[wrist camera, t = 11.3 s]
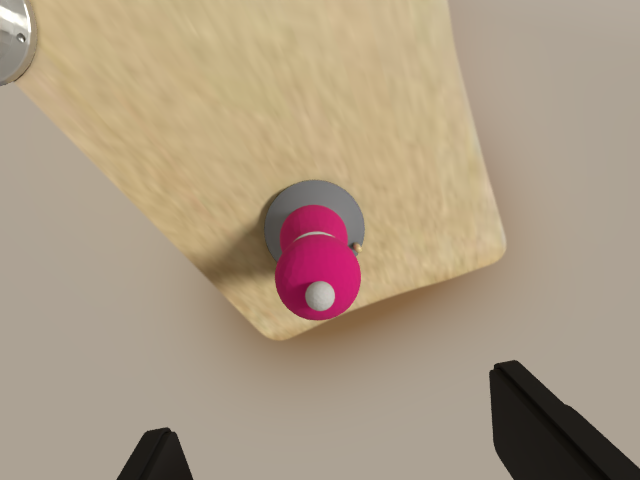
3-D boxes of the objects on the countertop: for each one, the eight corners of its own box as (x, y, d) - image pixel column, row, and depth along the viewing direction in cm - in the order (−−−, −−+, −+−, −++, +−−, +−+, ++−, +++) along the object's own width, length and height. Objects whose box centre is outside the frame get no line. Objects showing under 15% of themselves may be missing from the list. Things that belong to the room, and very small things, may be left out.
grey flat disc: (253, 258, 39) (248, 266, 36) (283, 165, 36) (281, 165, 33) (342, 286, 40) (345, 297, 37) (377, 199, 38) (383, 202, 35)
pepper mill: (288, 263, 38) (270, 366, 19) (277, 205, 36) (245, 252, 17) (346, 254, 38) (388, 347, 19) (338, 195, 36) (376, 231, 17)
